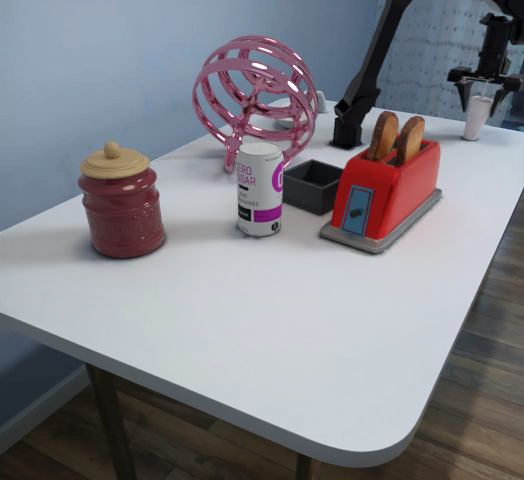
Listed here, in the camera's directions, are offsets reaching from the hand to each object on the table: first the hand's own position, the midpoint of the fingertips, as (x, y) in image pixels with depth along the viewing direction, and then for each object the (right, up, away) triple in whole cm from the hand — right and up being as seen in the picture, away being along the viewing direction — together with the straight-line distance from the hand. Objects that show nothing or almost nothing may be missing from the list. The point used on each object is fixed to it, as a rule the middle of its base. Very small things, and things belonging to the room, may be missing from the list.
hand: (477, 114), depth 130 cm
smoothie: (0, -4, +4) cm, 6 cm away
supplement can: (-57, -39, -36) cm, 78 cm away
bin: (-46, -30, -25) cm, 60 cm away
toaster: (-32, -35, -31) cm, 57 cm away
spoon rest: (-45, +5, +15) cm, 48 cm away
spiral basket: (-58, -17, -11) cm, 61 cm away
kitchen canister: (-81, -42, -40) cm, 100 cm away
